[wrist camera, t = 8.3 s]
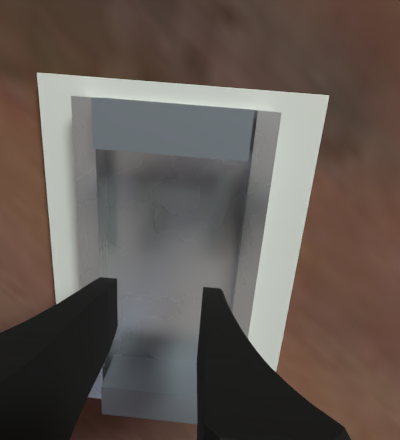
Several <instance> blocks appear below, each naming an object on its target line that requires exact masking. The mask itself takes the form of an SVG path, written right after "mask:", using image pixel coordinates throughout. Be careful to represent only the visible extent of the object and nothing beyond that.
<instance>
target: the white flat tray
mask: <svg viewBox="0 0 400 440" xmlns="http://www.w3.org/2000/svg"><path fill="white" fill-rule="evenodd" d="M37 80H38V92H39V104H40V116H41V128H42V140H43V152H44V164H45V176H46V188H47V200H48V212H49V224H50V236H51V248H52V260H53V272H54V284H55V296H56V304H58V303H59V302H61V301H63V300H64V299H66V298H67V297H69V296H71V295H72V294H74V293H75V292H77V291H79V290H80V289H82V288H83V287H85V286H86V285H88V284H89V283H91V282H93V281H94V280H96V279H98V278H99V277H105V278H116V279H117V311H118V327H117V330H116V334H115V337H114V340H113V343H112V346H111V349H110V351H109V354H108V356H107V358H106V360H105V362H104V364H103V366H102V369H101V371H100V373H99V375H98V377H97V379H96V381H95V383H94V385H93V387H92V389H91V391H90V393H89V395H88V397H89V398H99V399H101V402H102V414H106V415H115V416H125V417H134V418H143V419H153V420H162V421H172V422H181V423H190V424H197V351H198V340H199V328H200V317H201V306H202V295H203V287H211V288H221V290H222V291H223V293H224V296H225V298H226V301H227V303H228V305H229V307H230V309H231V311H232V313H233V315H234V317H235V319H236V320H237V322H238V324H239V326H240V327H241V329H242V330H243V332H244V334H245V335H246V337H247V338H248V339H249V341H250V342H251V344H252V345H253V347H254V348H255V349H256V350H257V352H258V353H259V354H260V355H261V357H262V358H263V359H264V360H265V361H266V363H267V364H268V365H269V366H270V367H271V368H272V369H273V370H274V371H275V372H276V370H277V364H278V359H279V354H280V349H281V344H282V339H283V333H284V328H285V323H286V318H287V313H288V307H289V302H290V297H291V292H292V287H293V281H294V276H295V271H296V266H297V261H298V255H299V250H300V245H301V240H302V235H303V229H304V224H305V219H306V214H307V209H308V203H309V198H310V193H311V188H312V183H313V177H314V172H315V167H316V162H317V157H318V152H319V146H320V141H321V136H322V131H323V126H324V120H325V115H326V110H327V105H328V100H329V95H317V94H304V93H292V92H279V91H266V90H253V89H240V88H228V87H215V86H202V85H189V84H176V83H163V82H151V81H138V80H125V79H112V78H99V77H87V76H74V75H61V74H48V73H37Z"/></svg>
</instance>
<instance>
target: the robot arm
mask: <svg viewBox="0 0 400 440" xmlns="http://www.w3.org/2000/svg"><path fill="white" fill-rule="evenodd" d="M117 327H118V311H117V279H116V278H105V277H99V278H98V279H96V280H94V281H93V282H91V283H89V284H88V285H86V286H85V287H83V288H82V289H80V290H79V291H77V292H75V293H74V294H72V295H71V296H69V297H67V298H66V299H64V300H63V301H61V302H59V303H58V304H56V305H54V306H52V307H51V308H49V309H47V310H45V311H44V312H42V313H40V314H38V315H37V316H35V317H33V318H31V319H29V320H27V321H25V322H23V323H21V324H19V325H17V326H15V327H13V328H10V329H8V330H6V331H4V332H1V333H0V440H70V437H71V434H72V431H73V429H74V426H75V424H76V421H77V419H78V417H79V414H80V412H81V410H82V408H83V406H84V404H85V402H86V399H87V397H88V395H89V393H90V391H91V389H92V387H93V385H94V383H95V381H96V379H97V377H98V375H99V373H100V371H101V369H102V366H103V364H104V362H105V360H106V358H107V356H108V354H109V351H110V349H111V346H112V343H113V340H114V337H115V334H116V330H117ZM197 440H351V439H350V437H349V435H348V433H347V431H346V429H345V428H344V427H343V426H342V425H341V424H339V423H338V422H336V421H335V420H333V419H332V418H331V417H329V416H328V415H326V414H325V413H324V412H322V411H321V410H319V409H318V408H316V407H315V406H314V405H312V404H311V403H310V402H309V401H307V400H306V399H305V398H304V397H302V396H301V395H300V394H299V393H298V392H296V391H295V390H294V389H293V388H292V387H291V386H290V385H288V384H287V383H286V382H285V381H284V380H283V379H282V378H281V377H280V376H279V375H278V374H277V373H276V372H275V371H274V370H273V369H272V368H271V367H270V366H269V365H268V364H267V363H266V361H265V360H264V359H263V358H262V357H261V355H260V354H259V353H258V352H257V350H256V349H255V348H254V347H253V345H252V344H251V342H250V341H249V339H248V338H247V337H246V335H245V334H244V332H243V330H242V329H241V327H240V326H239V324H238V322H237V320H236V319H235V317H234V315H233V313H232V311H231V309H230V307H229V305H228V303H227V301H226V298H225V296H224V293H223V291H222V290H221V288H211V287H203V295H202V306H201V317H200V328H199V340H198V351H197Z"/></svg>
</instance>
